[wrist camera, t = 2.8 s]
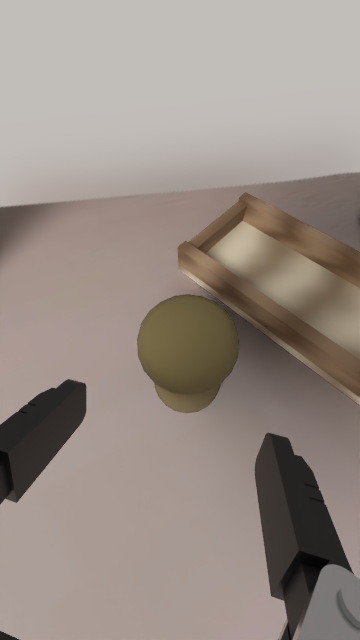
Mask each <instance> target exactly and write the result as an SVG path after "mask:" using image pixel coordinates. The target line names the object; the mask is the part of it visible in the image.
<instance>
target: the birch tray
mask: <svg viewBox="0 0 360 640" xmlns="http://www.w3.org/2000/svg"><path fill="white" fill-rule="evenodd" d="M178 263H179V270H180V271H181V272H183V273H184V274H185V275H187V276H188V277H189V278H191V279H192V280H193V281H195V282H196V283H197V284H199V285H200V286H201V287H203V288H204V289H205V290H207V291H208V292H209V293H211V294H212V295H213V296H215V297H216V298H217V299H219V300H220V301H221V302H223V303H224V304H225V305H227V306H228V307H229V308H231V309H232V310H233V311H235V312H236V313H237V314H239V315H240V316H241V317H243V318H244V319H245V320H247V321H248V322H249V323H251V324H252V325H253V326H255V327H256V328H257V329H259V330H260V331H261V332H263V333H264V334H265V335H267V336H268V337H269V338H271V339H272V340H273V341H275V342H276V343H277V344H279V345H280V346H281V347H283V348H284V349H285V350H287V351H288V352H289V353H291V354H292V355H293V356H295V357H296V358H297V359H299V360H300V361H301V362H303V363H304V364H305V365H307V366H308V367H309V368H311V369H312V370H313V371H315V372H316V373H317V374H319V375H320V376H321V377H323V378H324V379H325V380H327V381H328V382H329V383H331V384H332V385H333V386H335V387H336V388H337V389H339V390H340V391H341V392H343V393H344V394H345V395H347V396H348V397H349V398H351V399H352V400H353V401H355V402H356V403H357V404H359V405H360V252H359V251H357V250H355V249H353V248H351V247H349V246H347V245H345V244H343V243H342V242H340V241H338V240H336V239H334V238H332V237H330V236H328V235H326V234H324V233H322V232H321V231H319V230H317V229H315V228H313V227H311V226H309V225H307V224H305V223H303V222H301V221H300V220H298V219H296V218H294V217H292V216H290V215H288V214H286V213H284V212H282V211H280V210H279V209H277V208H275V207H273V206H271V205H269V204H267V203H265V202H263V201H261V200H259V199H257V198H256V197H254V196H252V195H250V194H248V193H246V192H245V193H244V194H243V195H242V196H241V197H239V201H238V202H237V203H236V204H235V205H233V206H232V207H231V208H230V209H229V210H227V211H226V212H225V213H224V214H222V215H221V216H220V217H219V218H218V219H216V220H215V221H214V222H213V223H211V224H210V225H209V226H208V227H207V228H205V229H204V230H203V231H202V232H200V233H199V234H198V235H197V236H195V237H194V238H193V239H192V240H191V241H189V242H187V241H185V242H184V243H182V244H181V245H180V246H179V247H178Z"/></svg>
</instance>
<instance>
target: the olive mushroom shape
mask: <svg viewBox="0 0 360 640" xmlns="http://www.w3.org/2000/svg"><path fill="white" fill-rule="evenodd" d="M238 344H239V341H238V335H237V332H236V328H235V324H234V323H233V321H232V319H231V318H230V316H229V315H228V313H227V312H226V311H225V310H224V309H223V308H221V307H220V306H219V305H218V304H217V303H215V302H213V301H211V300H208V299H206V298H204V297H202V296H195V295H180V296H174V297H172V298H169V299H167V300H165V301H162V302H160V303H159V304H158V305H157V306H155V307H154V308H153V309H152V310H150V311H149V313H148V314H147V316H146V317H145V319H144V320H143V322H142V323H141V327H140V330H139V334H138V338H137V346H138V357H139V360H140V362H141V365H142V367H143V370H144V371H145V372H146V373H147V375H148V376H149V377H150V378H151V379H152V380H153V381H154V383H155V389H156V391H157V393H158V396H159V398H160V399H161V400H162V401H163V402H164V403H165V405H166V406H168V407H170V408H171V409H173V410H175V411H178V412H183V413H191V412H198V411H200V410H202V409H203V408H205V407H207V406H208V405H209V404H210V403H211V402H212V401H213V400H214V399H215V397H216V395H217V392H218V390H219V386H220V383H221V382H222V381H223V380H224V379H225V378H226V377H227V376H228V375H229V374H230V373H231V371H232V369H233V367H234V364H235V362H236V360H237V357H238Z"/></svg>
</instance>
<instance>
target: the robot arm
mask: <svg viewBox="0 0 360 640" xmlns="http://www.w3.org/2000/svg"><path fill="white" fill-rule="evenodd" d="M85 413H86V385H85V383H81V382H78V381H74V380H70V379H68V380H66V381H64V382H63V383H62V384H61V385H60V386H58V387H57V388H51V389H49V390H47V391H45V392H42V393H40V394H39V395H37V396H36V397H35V398H34V399H32V400H31V401H30V402H28V404H27V405H25V406H23V407H22V408H21V409H20V410H19V411H18V412H16V413H15V414H13V415H12V416H11V417H10V418H8V419H7V420H6V421H5V422H3V423H2V424H1V425H0V504H1V503H2V502H3V501H4V499H8V500H10V501H13V502H16V503H17V502H18V501H19V499H20V498H21V497H22V496H23V494H24V493H25V492H26V491H27V490H28V488H29V487H30V486H31V485H32V483H33V482H34V481H35V480H36V478H37V477H38V476H39V475H40V474H41V472H42V471H43V470H44V469H45V467H46V466H47V465H48V464H49V462H50V461H51V460H52V459H53V457H54V456H55V455H56V454H57V453H58V451H59V450H60V449H61V448H62V446H63V445H64V444H65V443H66V441H67V440H68V439H69V438H70V436H71V435H72V434H73V433H74V432H75V430H76V429H77V428H78V427H79V425H80V424H81V423H82V421H83V419H84V417H85ZM255 479H256V487H257V494H258V502H259V509H260V517H261V524H262V532H263V539H264V546H265V554H266V561H267V569H268V576H269V584H270V591H271V596H272V597H275V598H278V599H281V600H283V601H285V607H286V613H287V619H286V621H285V623H284V626H283V629H282V631H281V634H280V636H279V639H278V640H360V579H358V578H357V577H356V576H355V575H354V574H353V572H352V570H351V567H350V565H349V563H348V560H347V558H346V555H345V553H344V550H343V548H342V545H341V543H340V540H339V537H338V535H337V532H336V530H335V527H334V525H333V522H332V520H331V517H330V515H329V512H328V509H327V507H326V505H325V504H324V499H323V497H322V494H321V492H320V491H319V487H318V484H317V481H316V479H315V476H314V474H313V471H312V470H311V469H310V467H309V466H308V465H307V463H306V462H305V461H304V459H303V458H302V457H301V456H298V455H294V452H293V449H292V446H291V443H290V441H289V439H288V438H286V437H282V436H279V435H275V434H271V433H267V434H266V435H265V438H264V440H263V443H262V446H261V448H260V451H259V453H258V456H257V459H256V463H255ZM0 640H19V639H17V638H15V637H12V636H10V635H8V634H6V633H4V632H1V631H0Z"/></svg>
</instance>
